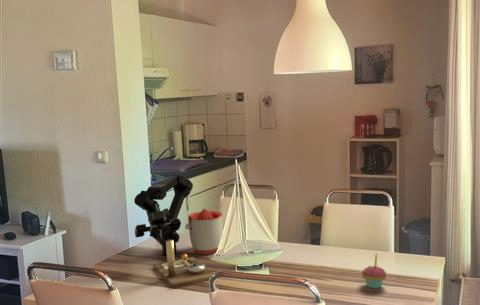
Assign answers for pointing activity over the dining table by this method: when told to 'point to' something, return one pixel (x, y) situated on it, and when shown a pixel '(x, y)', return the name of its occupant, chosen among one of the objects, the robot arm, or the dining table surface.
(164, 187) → the robot arm
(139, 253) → the dining table surface
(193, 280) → the level stand
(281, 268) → the dining table surface
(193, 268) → the capstan cam
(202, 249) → the citrus juicer
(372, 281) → the cupcake
